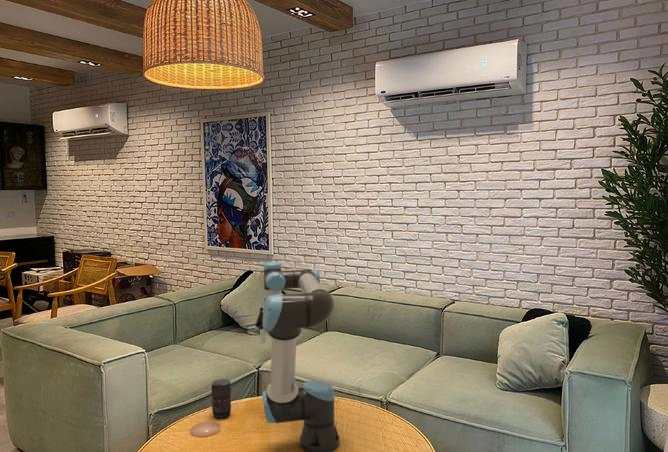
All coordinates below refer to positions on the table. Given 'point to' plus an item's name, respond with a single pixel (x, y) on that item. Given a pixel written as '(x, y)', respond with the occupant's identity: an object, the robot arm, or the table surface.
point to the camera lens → (221, 398)
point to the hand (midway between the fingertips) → (274, 346)
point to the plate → (205, 429)
